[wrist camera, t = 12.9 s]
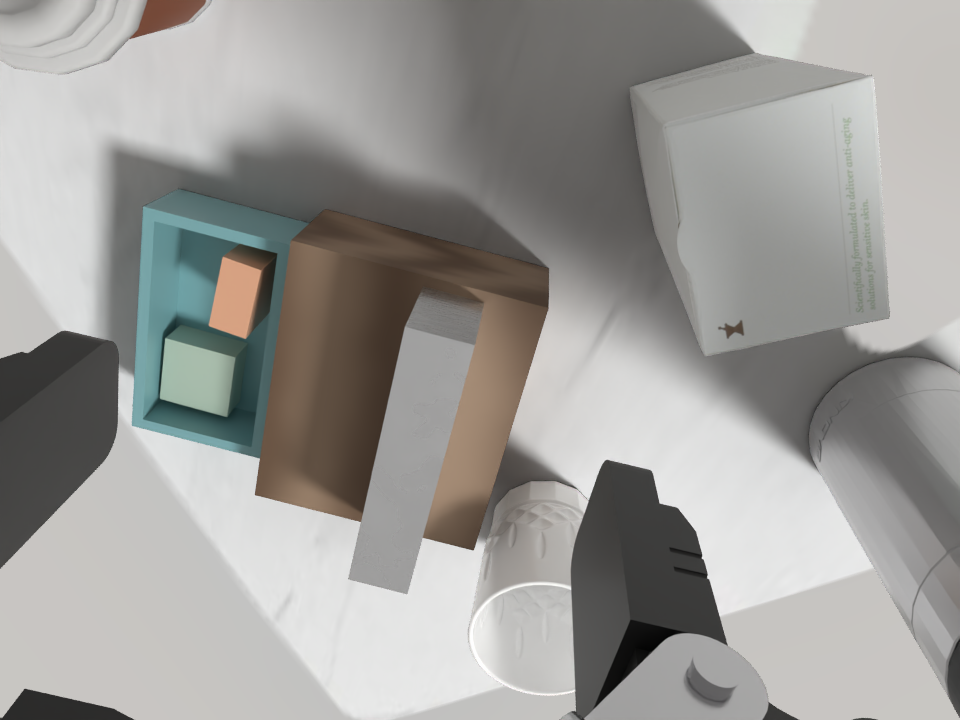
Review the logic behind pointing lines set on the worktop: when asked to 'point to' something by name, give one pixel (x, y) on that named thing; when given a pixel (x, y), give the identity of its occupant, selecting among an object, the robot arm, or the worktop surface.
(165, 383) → the sage tile
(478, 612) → the white cup
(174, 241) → the teal box
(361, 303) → the brown wooden box
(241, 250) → the terracotta tile
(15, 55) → the coffee cup
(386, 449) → the steel bar
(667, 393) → the worktop surface
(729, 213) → the skincare box
